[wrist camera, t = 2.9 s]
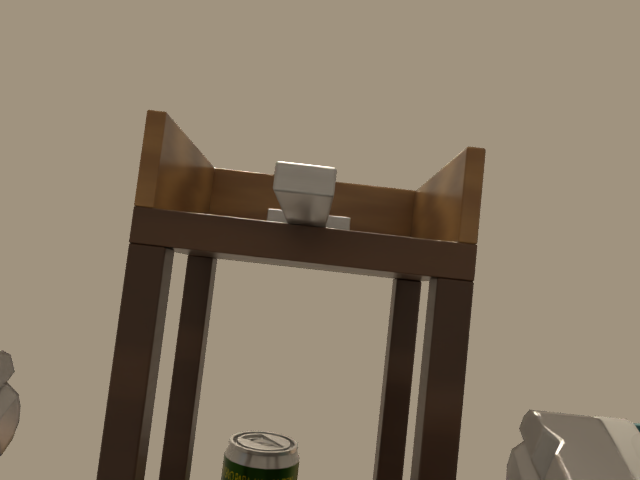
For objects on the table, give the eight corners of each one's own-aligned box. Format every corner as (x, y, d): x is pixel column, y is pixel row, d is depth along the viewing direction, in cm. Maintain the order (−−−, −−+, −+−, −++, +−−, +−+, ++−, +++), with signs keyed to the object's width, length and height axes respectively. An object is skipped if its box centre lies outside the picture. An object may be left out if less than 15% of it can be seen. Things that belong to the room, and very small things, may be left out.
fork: (380, 202, 14) (383, 164, 14) (225, 185, 14) (230, 147, 14) (341, 246, 32) (343, 229, 32) (274, 238, 32) (276, 221, 32)
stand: (414, 942, 20) (486, 148, 22) (37, 903, 20) (146, 109, 22) (376, 695, 32) (425, 194, 34) (139, 669, 32) (204, 168, 34)
